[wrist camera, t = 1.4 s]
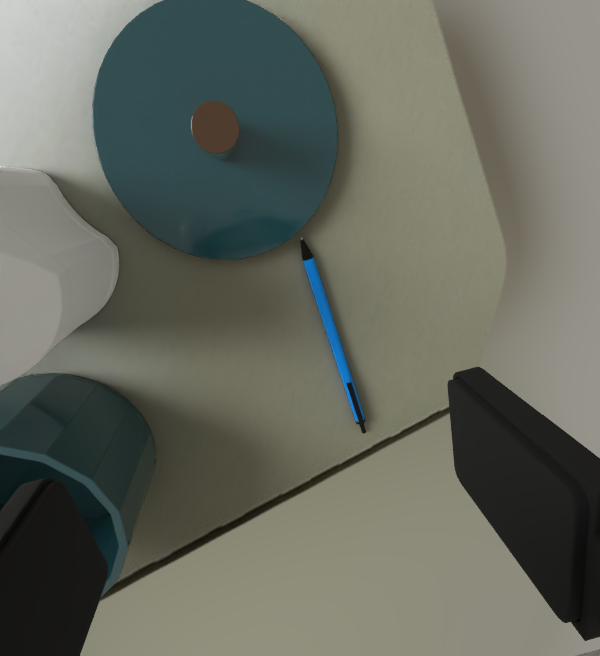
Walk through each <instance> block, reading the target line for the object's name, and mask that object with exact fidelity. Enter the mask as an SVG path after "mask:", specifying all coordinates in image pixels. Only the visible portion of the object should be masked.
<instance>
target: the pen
mask: <svg viewBox="0 0 600 656" xmlns="http://www.w3.org/2000/svg"><path fill="white" fill-rule="evenodd" d="M300 241H301V249H302V258H303V263H304V266H305V269H306V272H307V275H308V278H309V281H310V284H311V287H312V290H313V293H314V296H315V299H316V302H317V305H318V308H319V311H320V314H321V318H322V321H323V324H324V327H325V330H326V333H327V336H328V339H329V342H330V345H331V348H332V351H333V354H334V357H335V360H336V363H337V366H338V369H339V372H340V375H341V378H342V381H343V384H344V387H345V390H346V393H347V397H348V400H349V403H350V406H351V409H352V412H353V415H354V418H355V421H356V423H357V424H360V427H361V430H362V433H366V430H365V426H364V422H365V418H364V414H363V411H362V408H361V405H360V402H359V399H358V395H357V392H356V389H355V386H354V383H353V380H352V377H351V373H350V370H349V367H348V364H347V361H346V358H345V355H344V351H343V348H342V345H341V342H340V339H339V336H338V332H337V329H336V326H335V323H334V320H333V317H332V314H331V310H330V307H329V304H328V301H327V298H326V295H325V292H324V288H323V285H322V282H321V279H320V276H319V273H318V269H317V266H316V263H315V260H314V257H313V255H312V253H311V252H310V250H309V248H308V246H307V244H306V243H305V241H304V239H303V238H302V237H301V240H300Z"/></svg>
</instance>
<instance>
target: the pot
mask: <svg viewBox="0 0 600 656" xmlns="http://www.w3.org/2000/svg"><path fill="white" fill-rule="evenodd" d="M155 462H156V458H155V444H154V440H153V436H152V433H151V431H150V429H149V426H148V424H147V423H146V421H145V419H144V418H143V416H142V415H141V414H140V413H139V411H138V410H137V409H136V408H135V407H134V406H133V405H132V404H131V403H130V402H129V401H128V400H127V399H125V398H124V397H123V396H121V395H120V394H118V393H117V392H116V391H114V390H112V389H110V388H108V387H106V386H105V385H102V384H100V383H97V382H95V381H92V380H89V379H86V378H82V377H78V376H72V375H66V374H37V375H30V376H25V377H21V378H18V379H14V380H12V381H10V382H8V383H5V384H3V385H0V511H1V510H2V508H3V507H4V506H5V504H6V503H7V502H8V500H9V499H10V498H11V496H12V495H13V494H14V493H15V491H16V490H17V489H18V488H19V487H20V486H21V485H23V484H25V483H29V482H33V481H36V480H40V479H44V478H48V477H49V478H53V479H55V480H56V481H57V482H62V483H63V484H64V485H65V487H66V489H67V490H68V492H69V494H70V496H71V498H72V499H73V501H74V503H75V505H76V507H77V509H78V510H79V512H80V514H81V516H82V518H83V519H84V521H85V523H86V525H87V527H88V528H89V530H90V532H91V534H92V536H93V537H94V539H95V541H96V543H97V545H98V546H99V548H100V550H101V552H102V554H103V556H104V557H105V559H106V561H107V564H108V577H107V581H106V584H105V586H104V589H103V592H102V595H101V597H102V596H103V595H104V594H105V593H106V592H107V591H108V590H109V589H110V588H111V587H112V585H113V584H114V583H115V582H116V581H117V580H118V579H119V577H120V574H121V571H122V568H123V564H124V561H125V558H126V555H127V552H128V549H129V546H130V542H131V539H132V536H133V533H134V530H135V527H136V524H137V520H138V517H139V514H140V511H141V508H142V505H143V501H144V498H145V495H146V492H147V489H148V486H149V482H150V479H151V476H152V472H153V469H154V466H155ZM101 597H100V598H101Z"/></svg>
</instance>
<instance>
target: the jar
mask: <svg viewBox="0 0 600 656" xmlns="http://www.w3.org/2000/svg"><path fill="white" fill-rule="evenodd" d="M118 273H119V254H118V248H117V246H116V245H115V244H114V243H113V242H112V241H111V240H110V239H109V238H108V237H107V236H105V235H103V234H102V233H100V232H98V231H97V230H96V229H94V228H93V227H92V226H90V225H89V224H88V223H87V222H86V221H84V220H83V219H82V218H81V217H80V216H79V215H78V214H77V213H76V212H75V211H74V209H73V208H72V207H71V206H70V204H69V203H68V202H67V200H66V199H65V198H64V196H63V195H62V193H61V191H60V190H59V187H58V186H57V185H56V183H55V182H54V181H53V180H52V179H51V178H50V177H49V176H48V175H47V174H46V173H44V172H41V171H37V170H33V169H27V168H18V167H0V385H3V384H5V383H8V382H10V381H12V380H14V379H16V378H18V377H20V376H21V375H23V374H24V373H26V372H27V371H29V370H30V369H31V368H33V367H34V366H35V365H36V364H37V363H38V362H40V361H41V360H42V359H43V358H44V357H45V356H46V355H47V354H48V353H49V352H50V351H51V350H52V348H53V347H55V346H56V345H57V344H58V343H59V342H61V341H62V340H63V339H64V338H65V337H67V336H68V335H69V334H70V333H71V332H73V331H74V330H75V329H76V328H77V327H79V326H80V325H82V324H83V323H85V322H86V321H88V320H89V319H90V318H92V317H93V316H94V315H95V314H96V313H98V312H99V311H100V310H101V309H102V308H103V307H104V305H105V304H106V303H107V301H108V300H109V298H110V297H111V295H112V293H113V291H114V289H115V286H116V283H117V279H118Z"/></svg>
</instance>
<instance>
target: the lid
mask: <svg viewBox="0 0 600 656" xmlns="http://www.w3.org/2000/svg"><path fill="white" fill-rule="evenodd" d="M92 126H93V134H94V141H95V146H96V150H97V154H98V157H99V161H100V164H101V166H102V169H103V171H104V174H105V176H106V179H107V180H108V182H109V184H110V186H111V188H112V190H113V192H114V193H115V195H116V196H117V198H118V199H119V201H120V202H121V204H122V205H123V206H124V208H125V209H126V210H127V211H128V212H129V214H130V215H131V216H132V217H133V218H134V219H135V220H136V221H137V222H138V223H139V224H140V225H141V226H142V227H143V228H145V229H146V230H147V231H148V232H149V233H151V234H152V235H154V236H155V237H156V238H158V239H159V240H161V241H162V242H164V243H166V244H168V245H170V246H172V247H173V248H176V249H178V250H181V251H183V252H186V253H188V254H191V255H195V256H199V257H203V258H210V259H218V260H233V259H241V258H248V257H251V256H255V255H259V254H262V253H264V252H267V251H269V250H272V249H274V248H276V247H277V246H279V245H281V244H282V243H284V242H286V241H287V240H288V239H290V238H291V237H292V236H294V235H295V234H296V233H297V232H298V231H299V230H300V229H301V228H302V227H303V226H304V225H305V224H306V223H307V222H308V221H309V220H310V218H311V217H312V216H313V215H314V213H315V212H316V211H317V209H318V207H319V205H320V204H321V202H322V200H323V199H324V196H325V194H326V192H327V190H328V187H329V185H330V182H331V178H332V175H333V172H334V168H335V162H336V156H337V143H338V131H337V118H336V113H335V107H334V102H333V99H332V96H331V92H330V89H329V86H328V83H327V81H326V79H325V77H324V74H323V72H322V70H321V68H320V66H319V64H318V63H317V61H316V59H315V58H314V56H313V54H312V53H311V51H310V50H309V49H308V48H307V46H306V45H305V44H304V42H303V41H302V40H301V39H300V37H299V36H298V35H297V34H296V33H295V32H294V31H293V30H292V29H291V28H290V27H289V26H288V25H286V24H285V23H284V22H283V21H281V20H280V19H279V18H278V17H276V16H275V15H274V14H272V13H270V12H269V11H267V10H265V9H263V8H262V7H260V6H258V5H256V4H254V3H251V2H249V1H246V0H164V1H161V2H159V3H156V4H154V5H153V6H151V7H149V8H148V9H146V10H145V11H143V12H141V13H140V14H139V15H138V16H136V17H135V18H134V19H133V20H132V21H131V22H130V23H128V24H127V25H126V26H125V28H124V29H123V30H122V31H121V32H120V34H119V35H118V36H117V37H116V38H115V40H114V42H113V43H112V45H111V47H110V48H109V50H108V52H107V53H106V55H105V58H104V60H103V62H102V65H101V67H100V70H99V73H98V77H97V80H96V84H95V88H94V96H93V104H92Z"/></svg>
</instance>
